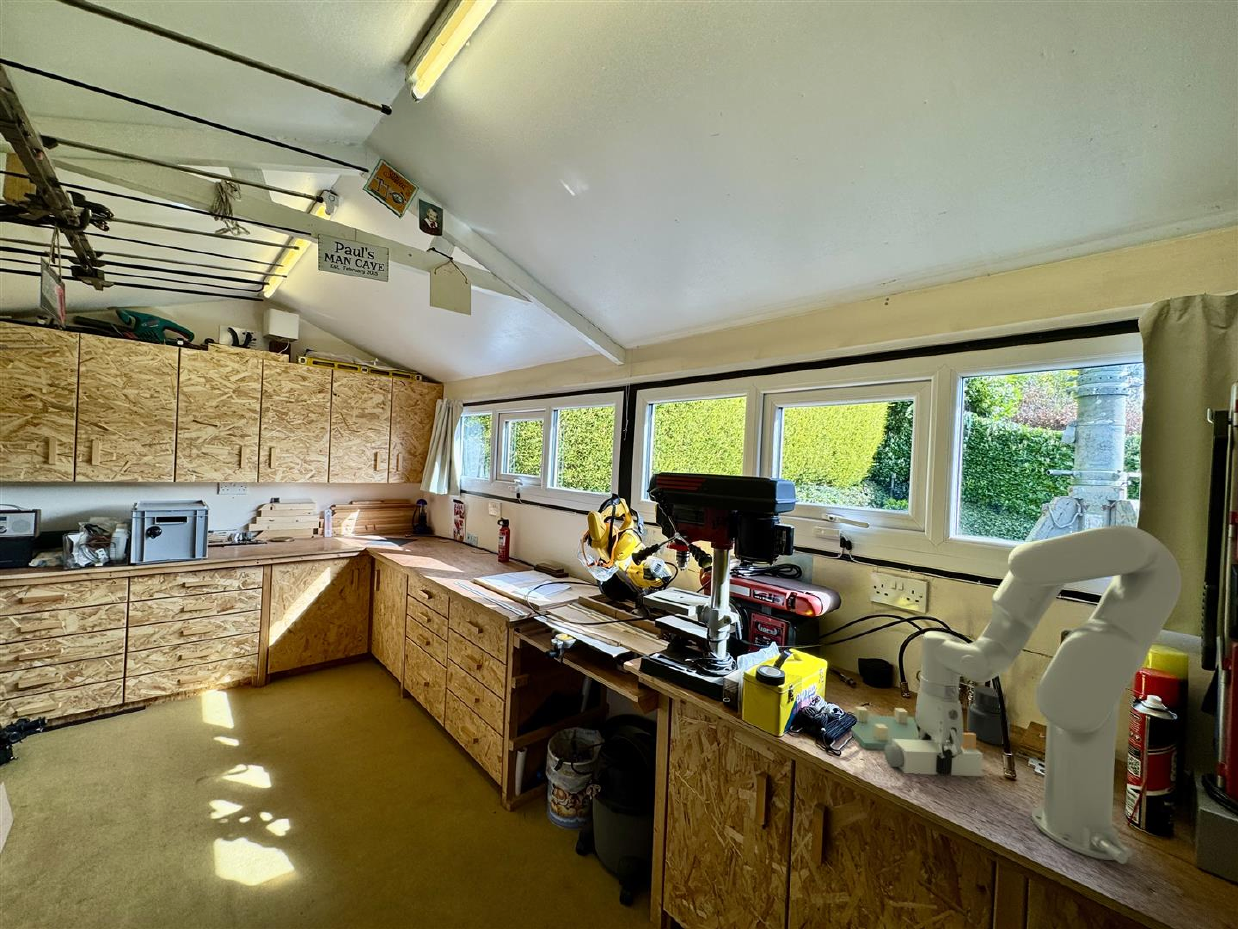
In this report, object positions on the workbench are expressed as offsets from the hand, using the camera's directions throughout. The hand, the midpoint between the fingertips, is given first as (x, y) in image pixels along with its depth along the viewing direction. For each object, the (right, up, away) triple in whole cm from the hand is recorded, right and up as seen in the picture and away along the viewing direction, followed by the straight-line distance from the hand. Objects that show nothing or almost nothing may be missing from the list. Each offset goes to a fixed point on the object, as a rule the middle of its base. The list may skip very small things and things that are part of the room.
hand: (934, 765), depth 112 cm
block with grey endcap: (0, -1, 0) cm, 1 cm away
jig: (-3, -1, +14) cm, 14 cm away
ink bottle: (+24, -3, +16) cm, 29 cm away
